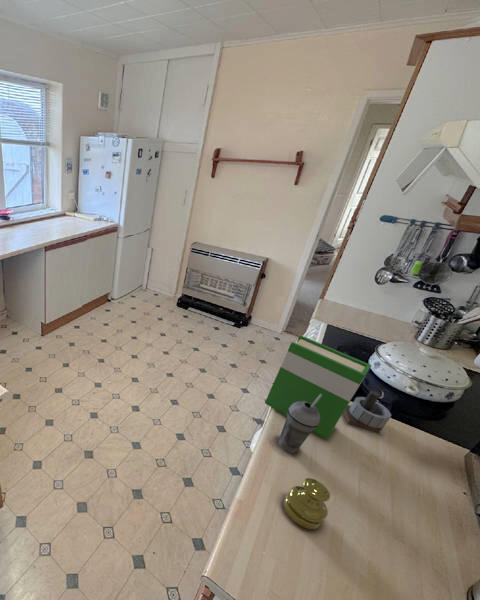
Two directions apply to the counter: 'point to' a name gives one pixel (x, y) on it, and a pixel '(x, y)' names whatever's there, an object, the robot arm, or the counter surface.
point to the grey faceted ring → (370, 413)
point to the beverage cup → (299, 424)
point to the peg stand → (367, 405)
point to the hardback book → (317, 381)
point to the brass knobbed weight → (307, 503)
